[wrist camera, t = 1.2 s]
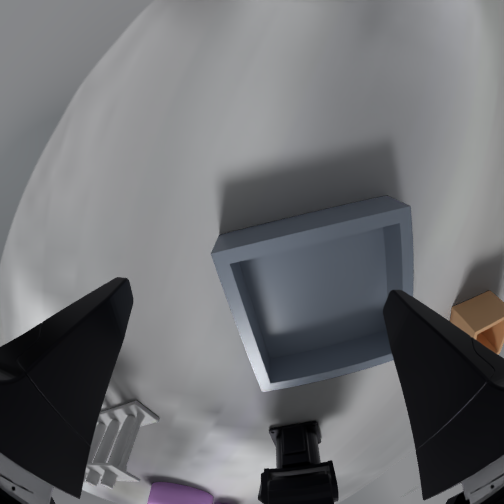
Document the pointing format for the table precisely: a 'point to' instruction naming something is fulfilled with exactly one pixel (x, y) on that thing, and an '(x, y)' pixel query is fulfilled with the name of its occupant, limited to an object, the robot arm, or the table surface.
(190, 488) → the container set
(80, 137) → the table surface
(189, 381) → the table surface
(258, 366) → the large crate
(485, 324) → the small crate
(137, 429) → the test tube rack
